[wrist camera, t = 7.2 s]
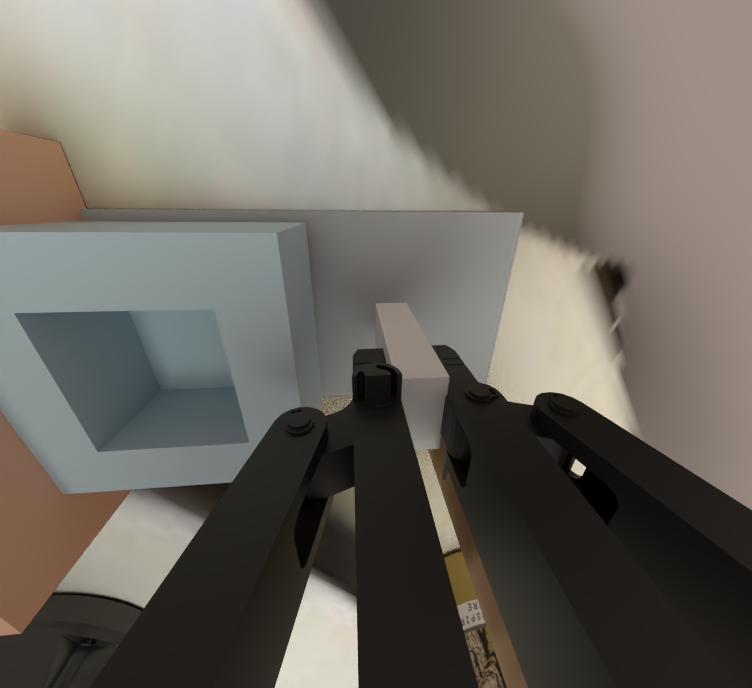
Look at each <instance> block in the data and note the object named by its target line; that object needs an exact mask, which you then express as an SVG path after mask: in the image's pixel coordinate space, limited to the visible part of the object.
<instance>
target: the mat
mask: <svg viewBox="0 0 752 688" xmlns="http://www.w3.org/2000/svg"><path fill="white" fill-rule="evenodd" d="M80 212H81V214H82V217H83V219H84V221H128V222H306V230H307V240H308V251H309V261H310V272H311V283H312V293H313V304H314V314H315V325H316V335H317V346H318V356H319V367H320V378H321V388H322V397H333V396H353V393H352V374H353V355H354V353H355V352H356V351H357V350H358V349H375V348H376V303H407V305H408V307H409V308H410V310H411V312H412V313H413V315H414V317H415V318H416V320H417V322H418V324H419V325H420V327H421V329H422V330H423V332H424V334H425V336H426V337H427V339H428V341H429V342H430V344H431V345H447V346H449V347H450V348H452V349H453V350H455V351H456V352H457V354H458V355H459V356H460V359H462V361H463V362H464V363H465V365H466V366H467V367H468V369H469V370H470V372H471V373H472V374H473V376H474V377H475V378H476V380H477V381H478V382H479V383H483V384H486V381H487V377H488V372H489V368H490V363H491V359H492V354H493V350H494V345H495V341H496V336H497V332H498V327H499V322H500V318H501V313H502V309H503V304H504V300H505V295H506V291H507V286H508V282H509V277H510V273H511V268H512V264H513V259H514V255H515V250H516V246H517V241H518V237H519V232H520V228H521V223H522V219H523V214H524V213H520V212H409V211H298V210H186V209H80Z"/></svg>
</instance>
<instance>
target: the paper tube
mask: <svg viewBox="0 0 752 688" xmlns="http://www.w3.org/2000/svg"><path fill="white" fill-rule="evenodd" d="M444 560H445V564H446V567H447V571H448V575H449V579H450V582H451V586H452V590H453V593H454V597H455V601H456V604H457V608H458V612H459V616H460V619H461V623H462V627H463V630H464V634H465V638H466V641H467V645H468V649H469V653H470V656H471V660H472V664H473V667H474V671H475V675H476V678H477V682H478V686H479V688H507V687H506V684H505V681H504V678H503V675H502V672H501V669H500V666H499V663H498V659H497V656H496V653H495V650H494V647H493V644H492V641H491V638H490V635H489V632H488V629H487V626H486V623H485V620H484V617H483V614H482V611H481V608H480V605H479V602H478V599H477V596H476V593H475V590H474V587H473V584H472V581H471V578H470V575H469V572H468V569H467V566H466V563H465V560H464V557H463V554H462V551H460V552H456V553H453V554H450V555H448V556H446V557H444Z"/></svg>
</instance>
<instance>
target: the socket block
mask: <svg viewBox="0 0 752 688" xmlns="http://www.w3.org/2000/svg"><path fill="white" fill-rule="evenodd" d="M321 399H322V388H321V378H320V367H319V356H318V346H317V335H316V325H315V314H314V304H313V293H312V283H311V272H310V261H309V251H308V240H307V230H306V222H128V221H71V222H52V223H32V224H12V225H0V411H1V412H2V414H3V415H4V416H5V418H6V419H7V420H8V422H9V423H10V424H11V426H12V427H13V428H14V430H15V431H16V432H17V434H18V435H19V436H20V438H21V439H22V440H23V442H24V443H25V444H26V446H27V447H28V448H29V450H30V451H31V452H32V454H33V455H34V456H35V458H36V459H37V460H38V462H39V463H40V464H41V466H42V467H43V468H44V470H45V471H46V472H47V474H48V475H49V476H50V478H51V479H52V480H53V482H54V483H55V484H56V486H57V487H58V488H59V490H60V491H61V492H62V494H75V493H89V492H103V491H117V490H131V489H145V488H159V487H173V486H187V485H201V484H215V483H229V482H232V481H233V480H234V478H235V477H236V476H237V474H238V473H239V471H240V470H241V468H242V467H243V466H244V464H245V463H246V461H247V460H248V458H249V457H250V455H251V454H252V453H253V451H254V450H255V448H256V447H257V445H258V444H259V442H260V441H261V440H262V438H263V437H264V435H265V434H266V432H267V431H268V429H269V428H270V427H271V425H272V424H273V422H274V421H275V420H276V419H277V418H278V417H279V416H280V415H281V414H283V413H285V412H287V411H288V410H291V409H295V408H298V407H312V408H316V409H318V410H320V406H321Z"/></svg>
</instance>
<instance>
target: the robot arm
mask: <svg viewBox="0 0 752 688" xmlns="http://www.w3.org/2000/svg"><path fill="white" fill-rule="evenodd" d="M352 393H353V399H352V401H351V403H350V404H349V405H348V406H347V407H346V408H344V409H343V410H341V411H339V412H336V413H334V414H330V415H327V416H325V415H324V413H323V412H321V411H320V410H318V409H316V408H312V407H298V408H295V409H291V410H288V411H287V412H285V413H283V414H281V415H280V416H279V417H278V418H277V419H276V420H275V421H274V422H273V424H272V425H271V427H270V428H269V429H268V431H267V432H266V434H265V435H264V437H263V438H262V440H261V441H260V442H259V444H258V445H257V447H256V448H255V450H254V451H253V453H252V454H251V455H250V457H249V458H248V460H247V461H246V463H245V464H244V466H243V467H242V468H241V470H240V471H239V473H238V474H237V476H236V477H235V478H234V480H233V481H232V483H231V484H230V486H229V487H228V489H227V490H226V491H225V493H224V494H223V496H222V497H221V499H220V500H219V502H218V503H217V504H216V506H215V507H214V509H213V510H212V512H211V513H210V514H209V516H208V517H207V519H206V520H205V522H204V523H203V525H202V526H201V527H200V529H199V530H198V532H197V533H196V535H195V536H194V538H193V539H192V540H191V542H190V543H189V545H188V546H187V548H186V549H185V551H184V552H183V553H182V555H181V556H180V558H179V559H178V561H177V562H176V563H175V565H174V566H173V568H172V569H171V571H170V572H169V574H168V575H167V576H166V578H165V579H164V581H163V582H162V584H161V585H160V587H159V588H158V589H157V591H156V592H155V594H154V595H153V597H152V598H151V599H150V601H149V602H148V604H147V605H146V607H145V608H144V610H143V611H141V610H139V609H137V608H134V607H132V606H129V605H126V604H123V603H120V602H116V601H112V600H108V599H102V598H97V597H89V596H79V595H51V596H50V597H49V598H48V600H47V601H46V602H45V603H44V605H43V606H42V607H41V609H40V610H39V611H38V613H37V614H36V615H35V616H34V618H33V619H32V620H31V622H30V623H29V624H28V626H27V627H26V628H25V630H24V631H23V632H22V633H21V634H12V635H3V636H0V688H274V687H275V684H276V681H277V678H278V675H279V671H280V668H281V665H282V662H283V658H284V655H285V652H286V649H287V645H288V642H289V639H290V636H291V633H292V629H293V626H294V623H295V620H296V616H297V613H298V610H299V607H300V603H301V600H302V597H303V594H304V591H305V587H306V584H307V581H308V578H309V574H310V571H311V568H312V565H313V561H314V558H315V555H316V552H317V549H318V545H319V542H320V539H321V536H322V532H323V529H324V526H325V523H326V520H327V516H328V513H329V510H330V507H331V503H332V500H333V495H334V494H337V493H339V492H341V491H344V490H346V489H349V488H351V487H354V486H355V530H356V579H357V629H358V678H359V688H479V686H478V682H477V678H476V675H475V671H474V667H473V664H472V660H471V656H470V653H469V649H468V645H467V641H466V638H465V634H464V630H463V627H462V623H461V619H460V616H459V612H458V608H457V604H456V601H455V597H454V593H453V590H452V586H451V582H450V579H449V575H448V571H447V567H446V564H445V560H444V556H443V553H442V549H441V545H440V541H439V538H438V534H437V530H436V527H435V523H434V519H433V516H432V512H431V508H430V504H429V501H428V497H427V493H426V490H425V486H424V482H423V479H422V475H421V471H420V467H419V464H418V460H417V456H416V453H415V450H428V449H440V442H441V436H442V438H443V441H444V443H445V446H446V449H445V456H444V462H443V469H442V480H446V477H447V471H448V472H449V475H450V477H451V480H452V483H453V485H454V488H455V491H456V494H457V496H458V499H459V502H460V504H461V507H462V510H463V513H464V515H465V518H466V521H467V523H468V526H469V529H470V532H471V534H472V537H473V540H474V542H475V545H476V548H477V551H478V553H479V556H480V559H481V561H482V564H483V567H484V570H485V572H486V575H487V578H488V580H489V583H490V586H491V589H492V591H493V594H494V597H495V599H496V602H497V605H498V608H499V610H500V613H501V616H502V619H503V621H504V624H505V627H506V629H507V632H508V635H509V638H510V640H511V643H512V646H513V648H514V651H515V654H516V657H517V659H518V662H519V665H520V667H521V670H522V673H523V676H524V678H525V681H526V684H527V686H528V688H752V510H750V509H749V508H747V507H745V506H744V505H742V504H741V503H739V502H738V501H736V500H735V499H733V498H731V497H730V496H728V495H727V494H725V493H724V492H722V491H720V490H719V489H717V488H715V487H714V486H713V485H711V484H709V483H708V482H706V481H705V480H703V479H702V478H700V477H698V476H697V475H695V474H694V473H692V472H691V471H689V470H687V469H686V468H684V467H683V466H681V465H679V464H678V463H676V462H675V461H673V460H672V459H670V458H668V457H667V456H665V455H664V454H662V453H661V452H659V451H657V450H656V449H654V448H653V447H651V446H649V445H648V444H646V443H645V442H643V441H642V440H640V439H639V438H637V437H635V436H634V435H632V434H631V433H629V432H628V431H626V430H624V429H623V428H621V427H620V426H618V425H617V424H615V423H613V422H612V421H610V420H609V419H607V418H606V417H604V416H602V415H601V414H599V413H598V412H596V411H595V410H593V409H591V408H590V407H588V406H587V405H585V404H584V403H582V402H580V401H578V400H576V399H574V398H572V397H570V396H566V395H564V394H560V393H552V392H548V393H541V394H539V395H537V396H536V399H535V401H534V404H533V405H527V404H520V403H513V402H509V401H507V400H506V399H505V398H504V396H503V395H502V394H501V393H500V392H499V391H498V390H496V389H495V388H493V387H491V386H489V385H487V384H483V383H479V382H478V381H477V380H476V378H475V377H474V376H473V374H472V373H471V372H470V370H469V369H468V367H467V366H466V365H465V363H464V362H463V361H462V359H460V356H459V355H458V354H457V352H456V351H455V350H453V349H452V348H450V347H449V346H447V345H431V344H430V342H429V341H428V339H427V337H426V336H425V334H424V332H423V330H422V329H421V327H420V325H419V324H418V322H417V320H416V318H415V317H414V315H413V313H412V312H411V310H410V308H409V307H408V305H407V303H376V348H375V349H358V350H357V351H356V352H355V353H354V355H353V374H352ZM575 459H577V460H578V461H579V462H580V463H582V464H583V465H584V466H585V467H586V470H585V472H584V474H583V476H579V475H577V474H575V473H574V472H572V471H571V468H572V465H573V463H574V461H575Z"/></svg>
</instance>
